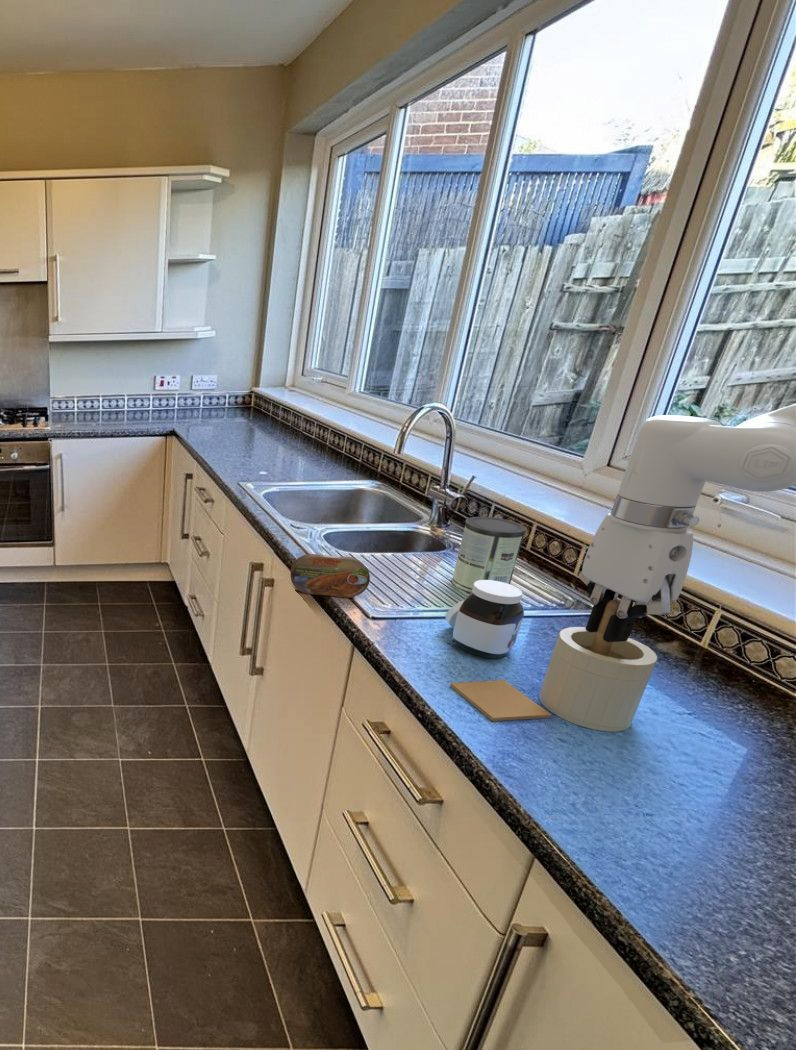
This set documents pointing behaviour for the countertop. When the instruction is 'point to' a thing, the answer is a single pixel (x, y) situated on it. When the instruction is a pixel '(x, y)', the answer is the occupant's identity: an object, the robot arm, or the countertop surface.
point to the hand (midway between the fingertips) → (605, 634)
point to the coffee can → (487, 551)
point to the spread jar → (487, 619)
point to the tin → (330, 575)
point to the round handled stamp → (598, 643)
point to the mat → (499, 700)
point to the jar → (596, 681)
